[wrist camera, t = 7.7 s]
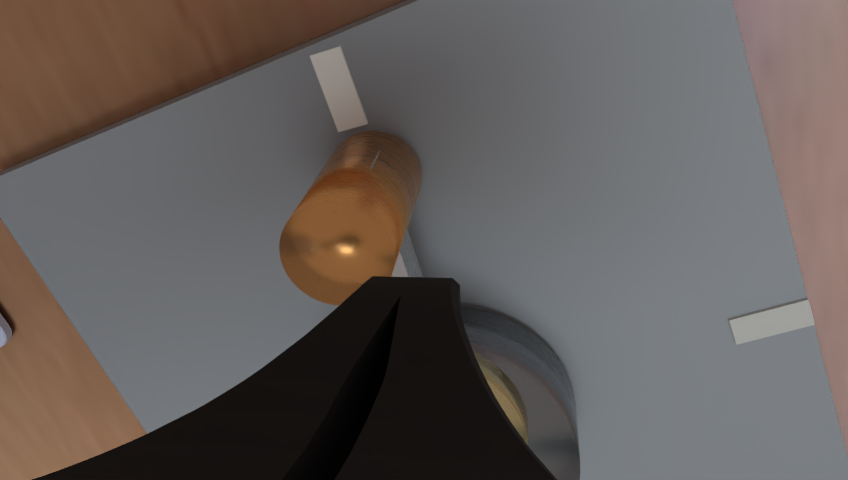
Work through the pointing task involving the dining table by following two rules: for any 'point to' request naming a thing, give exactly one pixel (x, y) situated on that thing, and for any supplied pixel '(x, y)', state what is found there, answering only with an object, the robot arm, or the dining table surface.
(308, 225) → the crank
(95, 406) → the dining table surface
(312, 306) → the stand
